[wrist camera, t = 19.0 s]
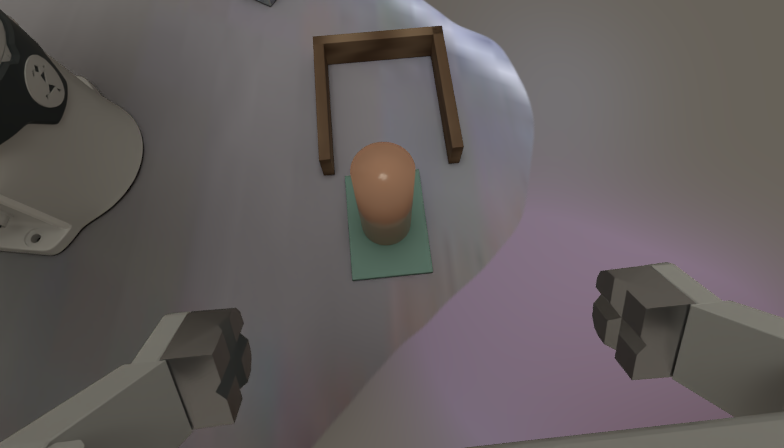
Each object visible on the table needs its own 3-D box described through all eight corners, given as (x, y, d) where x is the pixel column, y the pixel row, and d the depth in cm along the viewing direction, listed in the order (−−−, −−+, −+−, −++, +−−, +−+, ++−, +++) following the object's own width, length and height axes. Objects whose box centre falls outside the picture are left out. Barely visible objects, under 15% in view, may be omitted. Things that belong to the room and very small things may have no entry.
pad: (352, 280, 38) (352, 279, 38) (345, 178, 42) (345, 176, 41) (432, 272, 38) (432, 271, 38) (418, 171, 42) (418, 169, 41)
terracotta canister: (363, 247, 39) (352, 203, 29) (359, 201, 40) (348, 144, 31) (413, 242, 39) (418, 196, 29) (408, 196, 40) (411, 139, 31)
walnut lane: (324, 175, 42) (319, 160, 39) (317, 57, 46) (312, 36, 44) (459, 162, 42) (463, 146, 39) (438, 47, 47) (441, 25, 44)
